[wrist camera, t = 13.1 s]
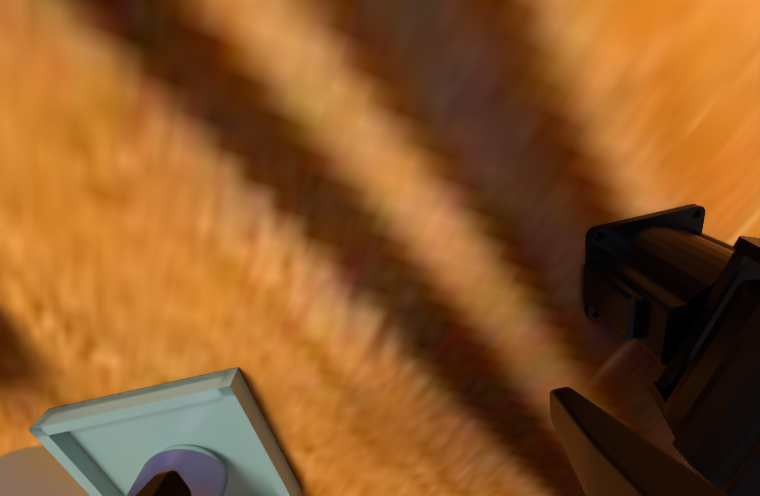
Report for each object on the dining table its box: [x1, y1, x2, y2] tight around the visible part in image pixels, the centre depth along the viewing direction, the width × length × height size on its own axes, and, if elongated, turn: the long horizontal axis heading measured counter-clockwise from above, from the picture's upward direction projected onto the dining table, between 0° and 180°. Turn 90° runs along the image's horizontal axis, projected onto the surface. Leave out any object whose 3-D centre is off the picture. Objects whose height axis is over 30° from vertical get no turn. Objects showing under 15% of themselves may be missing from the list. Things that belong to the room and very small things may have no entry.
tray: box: [29, 368, 302, 496], centre depth 26 cm, size 14×14×2 cm
